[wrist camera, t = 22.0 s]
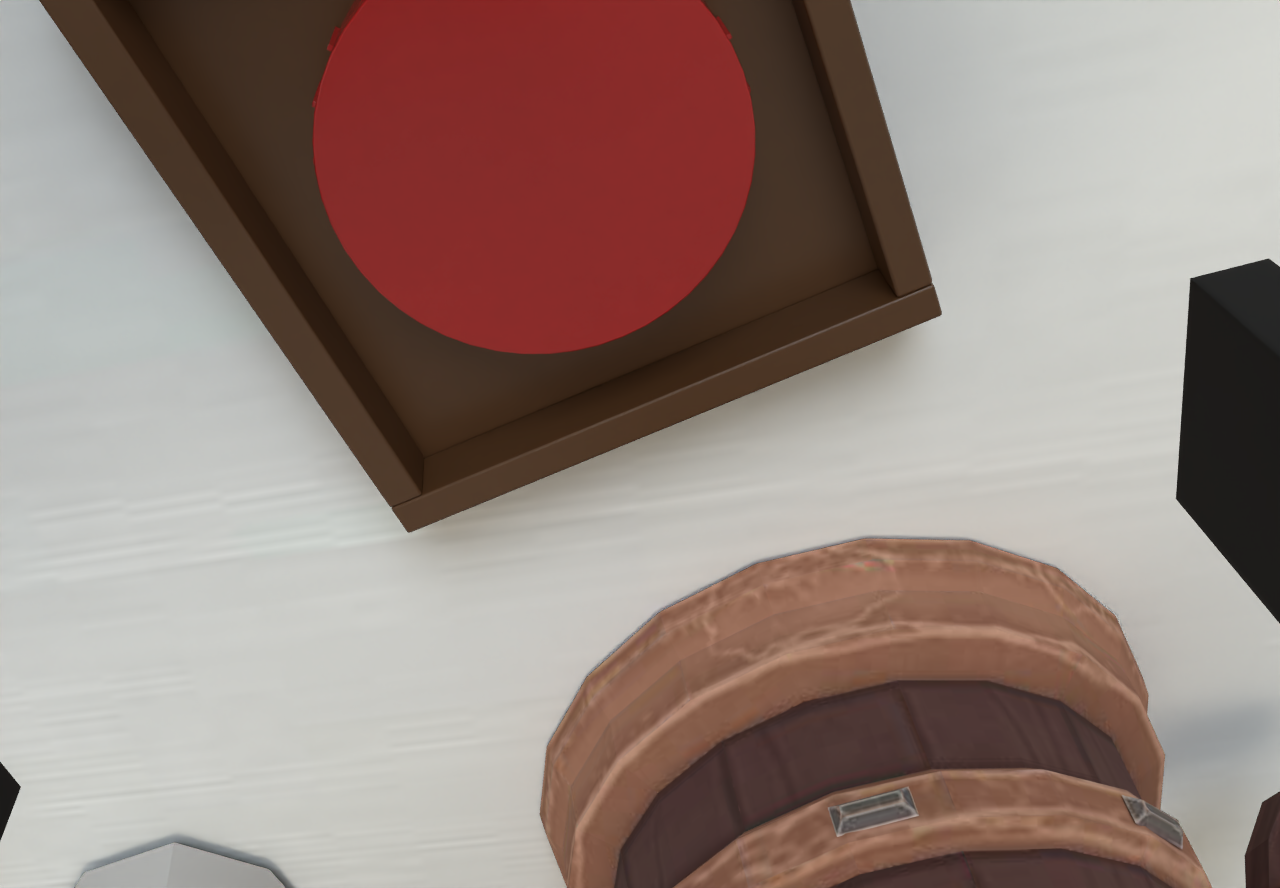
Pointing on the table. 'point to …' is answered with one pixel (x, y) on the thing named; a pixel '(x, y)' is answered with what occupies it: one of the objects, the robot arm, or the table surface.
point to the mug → (874, 736)
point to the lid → (533, 161)
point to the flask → (179, 871)
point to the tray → (501, 381)
